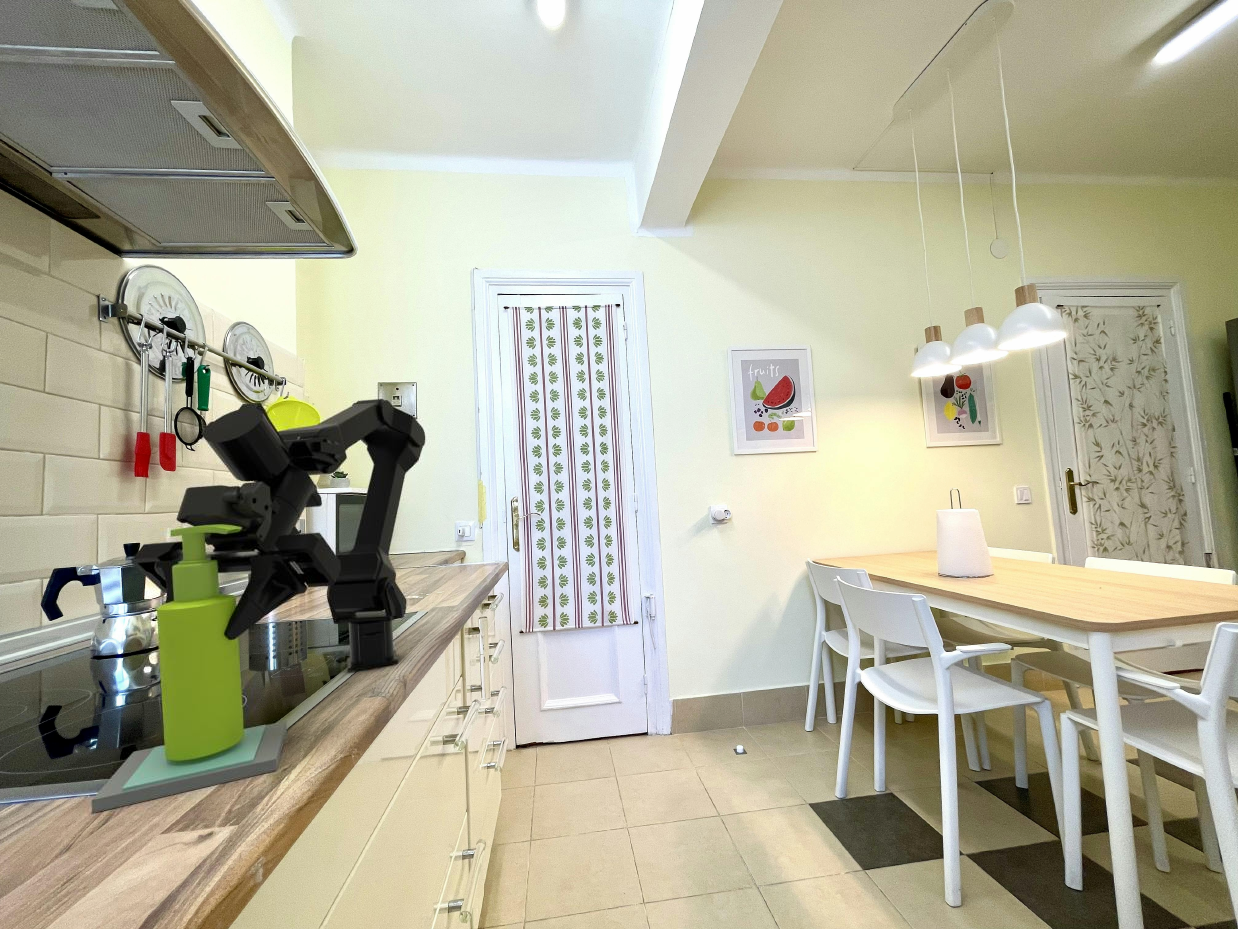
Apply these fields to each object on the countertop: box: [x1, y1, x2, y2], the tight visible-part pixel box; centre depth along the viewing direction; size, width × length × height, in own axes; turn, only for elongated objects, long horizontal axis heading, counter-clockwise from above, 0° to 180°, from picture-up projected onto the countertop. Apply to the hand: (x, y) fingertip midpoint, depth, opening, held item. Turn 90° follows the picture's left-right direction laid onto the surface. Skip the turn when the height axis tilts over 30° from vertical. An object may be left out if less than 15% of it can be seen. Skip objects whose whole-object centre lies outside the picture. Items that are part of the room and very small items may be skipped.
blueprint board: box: [91, 720, 288, 814], centre depth 53 cm, size 10×12×1 cm
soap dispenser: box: [156, 524, 245, 761], centre depth 53 cm, size 6×7×20 cm
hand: (195, 639), depth 53 cm, fingers closed on soap dispenser, 6 cm apart
